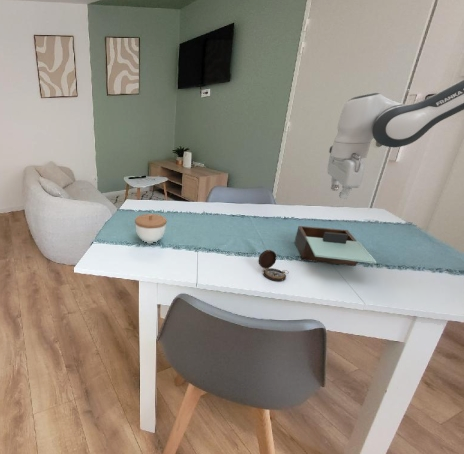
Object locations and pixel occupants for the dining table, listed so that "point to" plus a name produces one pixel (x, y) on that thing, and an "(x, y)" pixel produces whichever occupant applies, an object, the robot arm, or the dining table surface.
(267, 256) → the compass
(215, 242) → the dining table surface
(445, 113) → the robot arm
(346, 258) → the case lid
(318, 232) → the case
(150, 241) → the lidded bowl
